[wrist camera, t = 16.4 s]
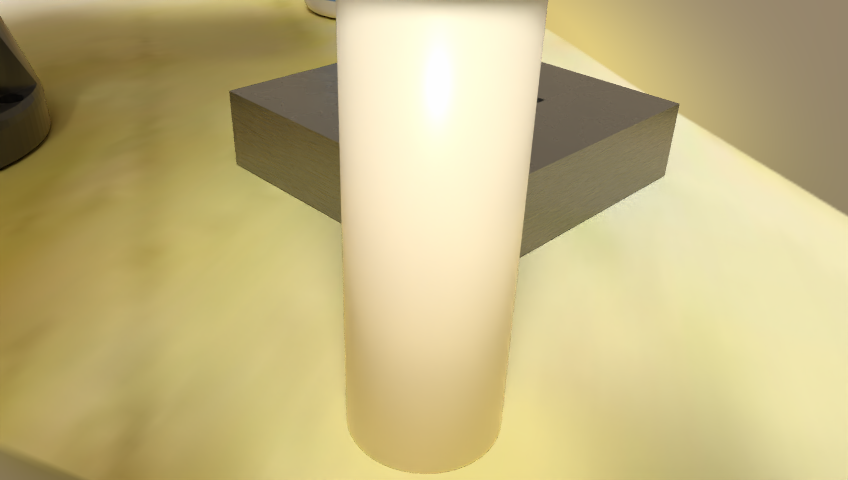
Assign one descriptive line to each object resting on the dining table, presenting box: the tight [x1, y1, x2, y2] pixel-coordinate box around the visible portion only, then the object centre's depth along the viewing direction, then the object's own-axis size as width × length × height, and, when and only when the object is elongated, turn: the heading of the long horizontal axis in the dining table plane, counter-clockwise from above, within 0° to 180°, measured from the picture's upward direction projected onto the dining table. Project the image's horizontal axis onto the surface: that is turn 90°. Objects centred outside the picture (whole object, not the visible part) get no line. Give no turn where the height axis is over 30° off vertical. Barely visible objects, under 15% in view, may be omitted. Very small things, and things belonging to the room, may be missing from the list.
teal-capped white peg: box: [336, 0, 548, 474], centre depth 21 cm, size 6×6×16 cm
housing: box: [229, 62, 679, 257], centre depth 40 cm, size 16×16×4 cm
